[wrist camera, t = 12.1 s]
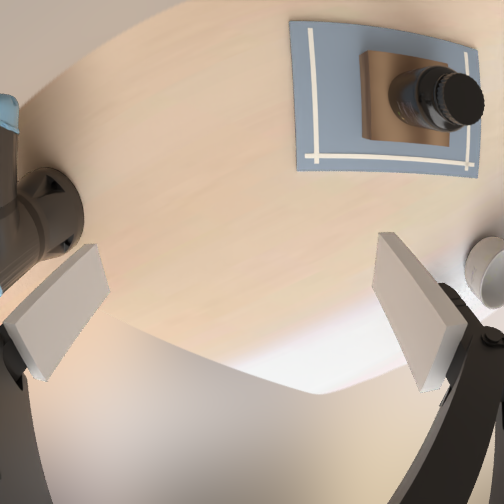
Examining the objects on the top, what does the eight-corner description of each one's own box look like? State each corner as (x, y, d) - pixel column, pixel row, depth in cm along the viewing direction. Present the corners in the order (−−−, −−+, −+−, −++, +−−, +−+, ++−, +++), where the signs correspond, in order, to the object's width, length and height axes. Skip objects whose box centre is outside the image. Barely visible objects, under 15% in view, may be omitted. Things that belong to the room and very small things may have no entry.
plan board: (296, 169, 40) (297, 171, 39) (288, 23, 31) (289, 20, 30) (474, 176, 37) (477, 178, 36) (473, 50, 29) (477, 50, 28)
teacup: (448, 257, 43) (472, 281, 36) (491, 215, 40) (519, 234, 32) (474, 304, 47) (494, 330, 40) (512, 268, 43) (535, 289, 36)
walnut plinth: (362, 137, 36) (371, 140, 33) (358, 55, 32) (367, 49, 28) (435, 143, 35) (449, 147, 32) (433, 66, 31) (447, 63, 27)
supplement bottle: (406, 60, 28) (459, 45, 17) (444, 101, 29) (503, 104, 18) (374, 98, 30) (420, 94, 20) (414, 138, 32) (468, 153, 21)
